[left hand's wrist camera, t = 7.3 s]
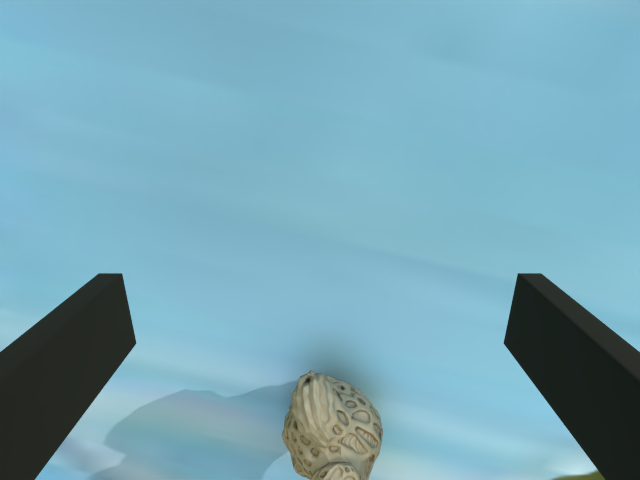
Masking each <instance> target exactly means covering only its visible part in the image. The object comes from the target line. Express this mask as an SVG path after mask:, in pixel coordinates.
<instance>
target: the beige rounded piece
mask: <svg viewBox="0 0 640 480" xmlns="http://www.w3.org/2000/svg"><path fill="white" fill-rule="evenodd" d="M292 398H293V401H292V402H291V404H290V407H289V408H290V412H288V413H287V415H286V416H285V423H284V431H283V433H282V437H283V440H284V443H285V445H286V446H287V448H288V450H289V451H290V454H291V459H292V463H293V467H294V469H295V471H296V472H297V473H298V474H299V475H301V476H303V477H307V478H308V479H310V480H368V479H369V476H370V473H371V470H372V467H373V464H374V462H375V460H376V458H377V456H378V454H379V452H380V447H381V442H382V435H383V430H382V425H381V420H380V416H379V414H378V412H377V410H376V409H375V408H374V407H373V406H372V403H371V402H370V401H369V400H368V399H367V398H365V396H364V395H363V394H362V393H361V392H360V391H359V390H358V389H357V388H355V387H353V386H351V385H349V384H347V383H346V382H344V381H340V380H337V379H334V378H332V377H330V376H327V377H326V376H325V375H323V374H320V373H315V372H313V371H310V372H309V373H308V374H305V375H303V376H300V379H299V382H298V384H297V387H296V389H295V390H294V392H293V393H292Z"/></svg>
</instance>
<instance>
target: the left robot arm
mask: <svg viewBox="0 0 640 480" xmlns="http://www.w3.org/2000/svg"><path fill="white" fill-rule="evenodd" d="M135 344H136V340H135V335H134V330H133V325H132V320H131V315H130V310H129V305H128V300H127V295H126V291H125V286H124V281H123V276H122V274H98V275H96V276H95V277H94V278H93V279H91V280H90V281H89V282H88V283H86V284H85V285H84V286H83V287H81V288H80V289H79V290H78V291H76V292H75V293H74V294H73V295H71V296H70V297H69V298H68V299H66V300H65V301H64V302H63V303H61V304H60V305H59V306H58V307H56V308H55V309H54V310H53V311H51V312H50V313H49V314H48V315H46V316H45V317H44V318H43V319H41V320H40V321H39V322H38V323H36V324H35V325H34V326H33V327H31V328H30V329H29V330H28V331H26V332H25V333H24V334H23V335H21V336H20V337H19V338H18V339H16V340H15V341H14V342H13V343H11V344H10V345H9V346H8V347H6V348H5V349H4V350H3V351H1V352H0V480H35V478H36V477H37V476H38V474H39V473H40V472H41V470H42V469H43V468H44V466H45V465H46V464H47V462H48V461H49V460H50V458H51V457H52V456H53V454H54V453H55V452H56V450H57V449H58V448H59V446H60V445H61V444H62V442H63V441H64V440H65V438H66V437H67V436H68V434H69V433H70V431H71V430H72V429H73V427H74V426H75V425H76V423H77V422H78V421H79V419H80V418H81V417H82V415H83V414H84V413H85V411H86V410H87V409H88V407H89V406H90V405H91V403H92V402H93V401H94V399H95V398H96V397H97V395H98V394H99V393H100V391H101V390H102V389H103V387H104V386H105V385H106V383H107V382H108V381H109V379H110V378H111V377H112V375H113V374H114V373H115V371H116V370H117V368H118V367H119V366H120V364H121V363H122V362H123V360H124V359H125V358H126V356H127V355H128V354H129V352H130V351H131V350H132V348H133V347H134V346H135ZM504 344H505V346H506V347H507V348H508V350H509V351H510V352H511V354H512V355H513V356H514V358H515V359H516V360H517V362H518V363H519V364H520V366H521V367H522V369H523V370H524V371H525V373H526V374H527V375H528V377H529V378H530V379H531V381H532V382H533V383H534V385H535V386H536V387H537V389H538V390H539V391H540V393H541V394H542V395H543V397H544V398H545V399H546V401H547V402H548V403H549V405H550V406H551V407H552V409H553V410H554V411H555V413H556V414H557V415H558V417H559V418H560V419H561V421H562V422H563V423H564V425H565V426H566V427H567V429H568V430H569V431H570V433H571V434H572V436H573V437H574V438H575V440H576V441H577V442H578V444H579V445H580V446H581V448H582V449H583V450H584V452H585V453H586V454H587V456H588V457H589V458H590V460H591V461H592V462H593V464H594V465H595V466H596V468H597V469H598V470H599V472H600V473H601V474H602V476H603V477H604V478H605V480H640V352H639V351H637V350H636V349H635V348H634V347H632V346H631V345H630V344H629V343H627V342H626V341H625V340H624V339H622V338H621V337H620V336H619V335H617V334H616V333H615V332H614V331H612V330H611V329H610V328H609V327H607V326H606V325H605V324H604V323H602V322H601V321H600V320H599V319H597V318H596V317H595V316H594V315H592V314H591V313H590V312H589V311H587V310H586V309H585V308H584V307H582V306H581V305H580V304H579V303H577V302H576V301H575V300H574V299H572V298H571V297H570V296H569V295H567V294H566V293H565V292H564V291H562V290H561V289H560V288H559V287H557V286H556V285H555V284H554V283H552V282H551V281H550V280H549V279H547V278H546V277H545V276H544V275H542V274H518V276H517V281H516V286H515V291H514V295H513V300H512V305H511V310H510V315H509V320H508V325H507V330H506V335H505V340H504Z"/></svg>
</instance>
